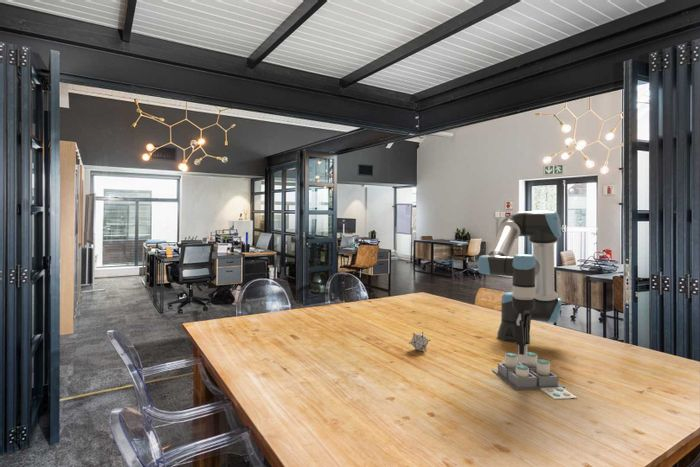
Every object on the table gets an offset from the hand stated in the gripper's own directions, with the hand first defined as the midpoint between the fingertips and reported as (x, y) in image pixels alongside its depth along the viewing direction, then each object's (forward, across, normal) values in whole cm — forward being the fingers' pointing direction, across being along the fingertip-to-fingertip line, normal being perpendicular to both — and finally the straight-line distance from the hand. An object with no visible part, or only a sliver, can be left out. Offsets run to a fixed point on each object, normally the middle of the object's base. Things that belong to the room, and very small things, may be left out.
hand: (522, 362), depth 145 cm
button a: (+6, 0, 0) cm, 6 cm away
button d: (+5, -11, 0) cm, 12 cm away
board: (+8, -5, 0) cm, 9 cm away
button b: (+5, -5, -6) cm, 9 cm away
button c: (+5, -5, +6) cm, 9 cm away
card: (+8, +1, +12) cm, 14 cm away
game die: (+8, -9, -47) cm, 48 cm away
